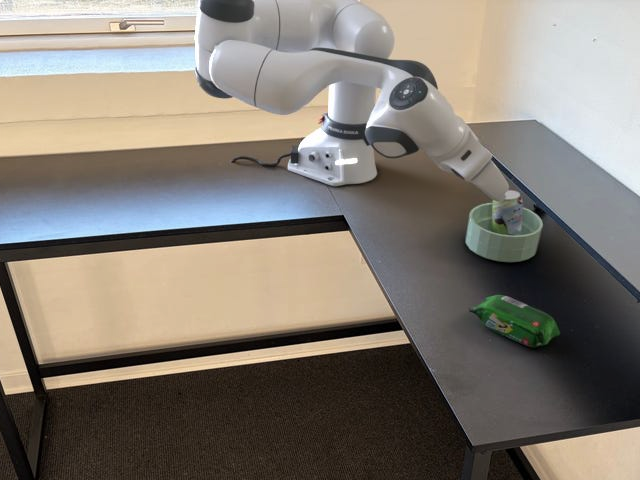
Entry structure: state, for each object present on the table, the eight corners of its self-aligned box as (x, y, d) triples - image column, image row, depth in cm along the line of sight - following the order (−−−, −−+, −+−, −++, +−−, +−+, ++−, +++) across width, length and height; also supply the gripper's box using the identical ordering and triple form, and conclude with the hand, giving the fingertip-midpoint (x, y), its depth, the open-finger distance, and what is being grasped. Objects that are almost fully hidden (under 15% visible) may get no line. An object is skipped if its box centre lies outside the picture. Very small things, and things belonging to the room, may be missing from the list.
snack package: (484, 307, 138) (488, 283, 135) (560, 340, 131) (566, 316, 127) (464, 323, 133) (468, 300, 130) (542, 358, 126) (548, 334, 123)
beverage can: (518, 255, 153) (529, 203, 145) (483, 249, 154) (492, 197, 146) (520, 241, 157) (531, 190, 150) (486, 236, 159) (496, 184, 151)
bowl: (456, 253, 153) (460, 225, 149) (476, 223, 164) (481, 196, 160) (527, 271, 149) (533, 243, 145) (542, 239, 160) (549, 212, 156)
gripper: (416, 139, 145) (452, 179, 154) (468, 181, 130) (505, 222, 140) (438, 114, 143) (473, 156, 153) (494, 154, 129) (529, 198, 138)
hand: (489, 188), depth 146 cm, fingers open, 8 cm apart
